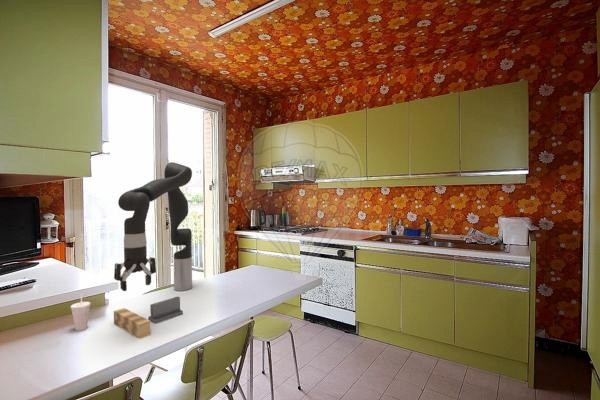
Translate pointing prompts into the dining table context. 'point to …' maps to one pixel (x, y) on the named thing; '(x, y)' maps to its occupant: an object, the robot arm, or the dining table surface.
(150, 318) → the ridge
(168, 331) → the dining table surface
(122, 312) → the oak beam
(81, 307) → the smoothie
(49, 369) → the dining table surface
